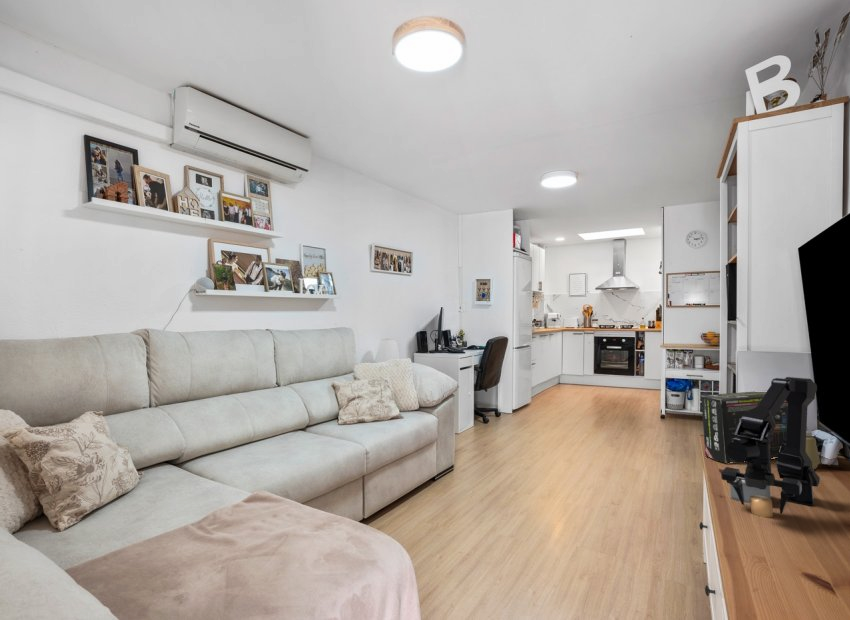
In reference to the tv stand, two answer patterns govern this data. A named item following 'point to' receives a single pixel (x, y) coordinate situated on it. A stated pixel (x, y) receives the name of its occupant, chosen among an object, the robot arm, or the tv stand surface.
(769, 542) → the tv stand surface
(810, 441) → the squeeze bottle
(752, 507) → the tan cylinder grey end
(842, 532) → the tv stand surface
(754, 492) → the box
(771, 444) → the router box
